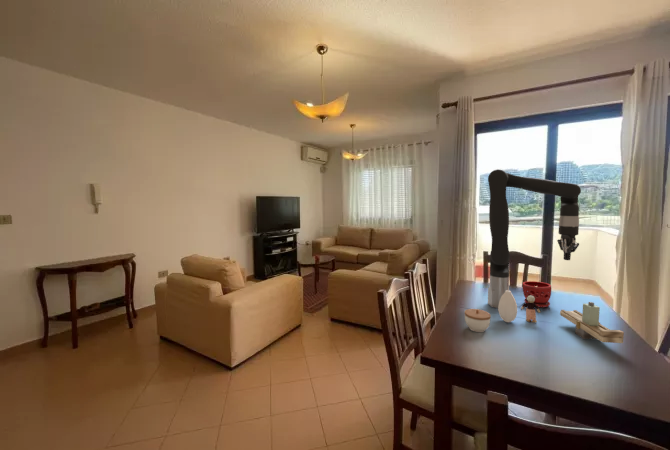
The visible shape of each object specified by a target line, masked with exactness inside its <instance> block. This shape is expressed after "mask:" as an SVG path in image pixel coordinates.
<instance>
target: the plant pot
mask: <svg viewBox="0 0 670 450" xmlns="http://www.w3.org/2000/svg"><path fill="white" fill-rule="evenodd" d="M522 292H523V296H524V303H529V302H528V300H527V297H528V296H534V298H535V301H534V302H533V303H534V304H536V305H537V306H538V308H548V307H549V306H550V305H551V303H550V298H551V296H552V285H551V284H550V283H547V282H541V281H534V280H533V281H531V280H530V281H523V282H522Z"/></svg>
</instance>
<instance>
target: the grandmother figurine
mask: <svg viewBox="0 0 670 450" xmlns="http://www.w3.org/2000/svg"><path fill="white" fill-rule="evenodd" d="M527 300H528V302H529V303H525V302H524V303H523V304H522V305H521V307H520V309H521V310H524V309H526V310H525V321H526V322H528V323H529V322H531V323H538V321H537V319H536V317H537V313H540V314H541V310H540V307H538V306H537V305H536V304H534V303H533V302H534V301H535V298H534V296H528V297H527ZM536 311H537V313H536Z"/></svg>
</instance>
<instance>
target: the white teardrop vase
mask: <svg viewBox="0 0 670 450" xmlns="http://www.w3.org/2000/svg"><path fill="white" fill-rule="evenodd" d="M497 310H498V314H499V317H500V318H501V320H503V321H504V322H505V323H512V322H513V321H514V320H516V318H517V315H518V305H517V301H516V299H515V297H514V295H513V293H512V291H511V290H510V285H509V286H508V290H506V291H505V293H504V294H503V295H502V297H501V299H500V301H499V306H498V308H497Z"/></svg>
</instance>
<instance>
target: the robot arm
mask: <svg viewBox="0 0 670 450" xmlns="http://www.w3.org/2000/svg"><path fill="white" fill-rule="evenodd" d="M487 181H488V187H489V196H490V197H489V198H490V199H489V208H488V212H489V213H488V217H489V230H490V235H491V248H490V249H491V251H490V252H489V253H490V255H489V286H488V288H487V304H488V305H489V306H490V307H491V308H495V309H498V306H499V301H500V299H501V297H502V295H503V294H504V293H505V291H506V290H508V286H509V287H510V259H511V255H510V249H509V242H508V237H509V228H510V211H509V204H508V200H507V199H508V198H507V188H514V189H520V190H524V191H529V192H532V193H538V194H543V195H549V196H551V195H552V196H556V197H560V208H559V219H558V234H559V235H560V238H559V239H556V241H557V244H558V245H559V248H560V251H562V252H563V260H564V261H571V256H572V253H575V252H576V250H577V249H578V247H579V246H580V243H579V242H577V241H576V240H577V239H576V236H578V235H579V228H580V218H579V217H580V216H579V215H580V213H579V212H580V206H579V196H580V194H581V192H582V189H581V187H580V186H579V185H578V184H576V183H571V182H562V181H555V180H551V179H550V180H549V179H545V178H544V179H543V178H537V177H527V176H520V175H515V174H511V173H509V172H506V171H505V170H503V169H498V168H497V169H493V170H492V171H491V172H490V173H489V174H488V177H487Z"/></svg>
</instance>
